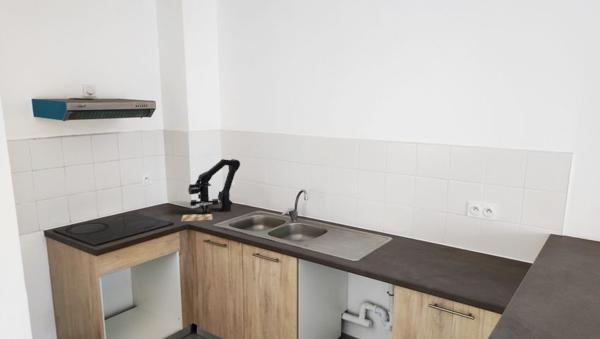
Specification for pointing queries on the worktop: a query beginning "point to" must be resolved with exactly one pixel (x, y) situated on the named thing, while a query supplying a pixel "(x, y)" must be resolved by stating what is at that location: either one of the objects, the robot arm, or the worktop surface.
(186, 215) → the plank
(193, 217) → the floor strip
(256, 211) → the worktop surface
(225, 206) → the robot arm
